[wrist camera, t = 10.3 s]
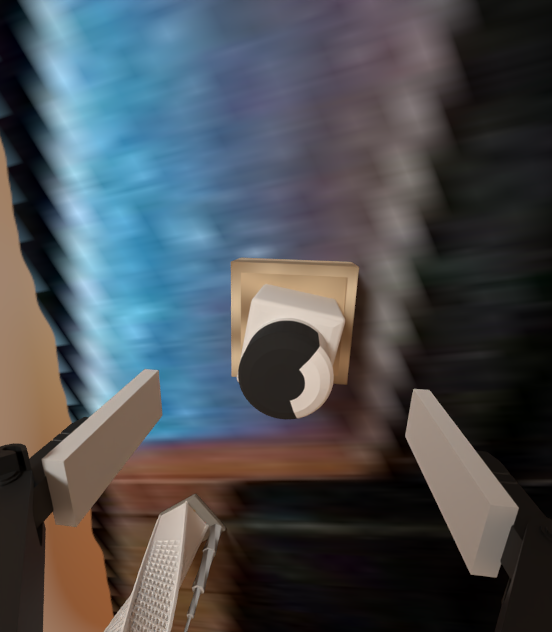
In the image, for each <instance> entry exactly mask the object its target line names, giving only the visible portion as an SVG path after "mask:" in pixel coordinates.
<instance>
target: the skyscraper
mask: <svg viewBox="0 0 552 632" xmlns="http://www.w3.org/2000/svg"><path fill="white" fill-rule="evenodd" d="M225 529H226V527H225V526H224V525H223V524H222V522H221V521H220V520H219V519H218V518H217V517H216V516H215V515H214V513H213V512H212V511H211V510H210V509H209V508H208V507H207V506H206V504H205V503H204V502H203V501H202V500H201V499H200V498H199V497H198V495H197V494H194V495H192V496H190V497H189V498H187V499H185V500H183V501H181V502H180V503H178V504H176V505H174V506H173V507H171V508H169V509H167V510H165V511H164V512H162V513H160V515H159V517H158V519H157V522H156V525H155V527H154V530H153V533H152V536H151V538H150V541H149V544H148V547H147V550H146V552H145V555H144V558H143V561H142V564H141V567H140V570H139V573H138V576H137V579H136V582H135V585H134V589H133V592H132V593H131V595H130V597H129V598H128V600H127V601H126V602H125V603H124V605H123V606H122V607H121V609H120V610H119V611H118V613H117V614H116V615H115V617H114V618H113V620H112V621H111V623H110V624H109V625H108V627H107V628H106V629H105V631H104V632H170V631H171V627H172V622H173V617H174V612H175V607H176V602H177V596H178V590H179V588H180V586H181V584H182V582H183V580H184V578H185V576H186V573H187V571H188V569H189V567H190V565H191V563H192V561H193V559H194V557H195V554H196V552H197V550H198V548H199V546H200V544H201V542H203V541H205V540H207V539H208V540H207V542H206V544H205V546H204V549H203V557H202V562H201V565H200V568H199V571H198V573H197V576H196V578H195V581H194V583H193V586H192V590H193V592H194V595H193V599H192V602H191V604H190V607H189V610H188V612H187V618H188V620H187V624H186V627H185V630H184V632H187V630H188V626H189V623H190V620H191V619H192V618H194V614H195V610H196V606H197V602H198V599H199V596H200V594H202V593H204V591H205V586H206V582H207V577H208V573H209V569H210V566H211V563H212V561H213V558H214V556H216V551H217V546H218V541H219V538H220V535H221V533H222V532H223V531H225Z"/></svg>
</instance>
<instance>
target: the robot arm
mask: <svg viewBox="0 0 552 632" xmlns="http://www.w3.org/2000/svg"><path fill="white" fill-rule="evenodd" d="M161 416H162V406H161V394H160V382H159V370H148V369H144V370H143V371H142V372H141V373H140V374H139V375H138V376H136V377H135V378H134V379H133V380H132V381H131V382H129V383H128V384H127V385H126V386H125V387H124V388H123V389H121V390H120V391H119V392H118V393H117V394H116V395H115V396H113V397H112V398H111V399H110V400H109V401H108V402H107V403H105V404H104V405H103V406H102V407H101V408H100V409H98V410H97V411H96V412H95V413H94V414H93V415H92V416H90V417H83V418H82V419H80V420H78V421H76V422H74V423H72V424H70V425H69V426H68V427H67V428H66V429H64V430H63V431H62V432H61V434H59V435H57V436H56V437H55V438H54V439H53V441H50V442H49V443H48V444H47V445H46V446H44V447H43V448H42V449H40V450H39V451H38V452H37V453H36V454H34V455H33V456H32V457H31V458H30V459H29V457H28V452H27V448H26V446H25V445H23V444H9V445H4V446H1V447H0V632H43V604H44V567H45V565H44V564H45V530H46V529H45V524H44V521H45V519H46V518H47V517H48V516H49V515H50V514H51V513H52V512H53V514H54V518H55V523H56V524H57V525H65V526H73V527H77V525H78V524H79V523H80V521H81V520H82V519H83V518H84V516H85V515H86V513H87V512H88V511H89V510H90V508H91V507H92V506H93V505H94V503H95V502H96V501H97V499H98V498H99V497H100V496H101V494H102V493H103V492H104V490H105V489H106V488H107V486H108V485H109V484H110V483H111V481H112V480H113V479H114V477H115V476H116V475H117V473H118V472H119V471H120V470H121V468H122V467H123V466H124V464H125V463H126V462H127V460H128V459H129V458H130V457H131V455H132V454H133V453H134V451H135V450H136V449H137V448H138V446H139V445H140V444H141V442H142V441H143V440H144V438H145V437H146V436H147V435H148V433H149V432H150V431H151V429H152V428H153V427H154V425H155V424H156V423H157V422H158V420H159V419H160V418H161ZM405 437H406V439H407V441H408V443H409V445H410V447H411V450H412V452H413V454H414V456H415V458H416V460H417V462H418V464H419V466H420V469H421V471H422V473H423V475H424V477H425V479H426V481H427V483H428V485H429V488H430V490H431V492H432V494H433V496H434V498H435V500H436V502H437V504H438V506H439V509H440V511H441V513H442V515H443V517H444V519H445V521H446V523H447V525H448V528H449V530H450V532H451V534H452V536H453V538H454V540H455V542H456V544H457V547H458V549H459V551H460V553H461V555H462V557H463V559H464V561H465V563H466V566H467V568H468V570H469V572H470V574H471V575H480V576H488V577H496V578H497V575H498V571H499V568H500V565H501V563H502V565H503V567H504V569H505V570H506V572H507V574H508V575H509V577H510V578H509V581H508V584H507V587H506V590H505V593H504V596H503V599H502V601H501V603H502V606H501V610H500V614H499V617H498V621H497V625H496V629H495V632H552V519H549V518H547V517H546V516H545V515H544V514H543V513H542V511H541V510H540V509H539V508H538V507H537V505H536V504H535V503H534V502H533V501H532V499H531V498H530V497H529V496H528V495H527V493H526V492H525V491H524V490H523V489H522V487H521V486H520V485H518V484H517V481H516V480H515V479H514V478H513V477H512V475H510V473H509V472H508V470H507V469H506V468H505V467H504V466H503V464H502V463H501V462H500V461H499V460H497V459H496V458H495V457H493V456H492V455H491V454H489V453H488V452H484V451H475V449H474V448H473V447H472V446H471V444H470V443H469V442H468V440H467V439H466V438H465V436H464V435H463V434H462V432H461V431H460V430H459V428H458V427H457V426H456V424H455V423H454V422H453V420H452V419H451V418H450V417H449V415H448V414H447V413H446V411H445V410H444V409H443V407H442V406H441V405H440V403H439V402H438V401H437V399H436V398H435V397H434V395H433V394H432V393H431V392H430V390H421V389H413V394H412V400H411V406H410V411H409V417H408V423H407V429H406V434H405Z"/></svg>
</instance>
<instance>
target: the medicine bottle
mask: <svg viewBox="0 0 552 632" xmlns="http://www.w3.org/2000/svg"><path fill="white" fill-rule="evenodd" d="M344 325H345V318H344V316H343V314H342V312H341V310H340V308H339V306H338V304H337V301H336V300H335V299H332V298H328V297H323V296H319V295H314V294H310V293H305V292H301V291H296V290H292V289H287V288H283V287H278V286H274V285H269V284H265V285H263V286H262V288H261V289H260V290H259V291H258V293H257V294H256V295H255V297H254V298H253V299H252V301H251V306H250V311H249V316H248V321H247V327H246V332H245V337H244V342H243V348H242V353H241V358H240V363H239V369H238V374H237V381H238V382H239V384H240V388H241V390H242V392H243V394H244V396H245V397H246V399H247V400H248V401H249V403H250V404H251V405H252V406H254V407H255V408H256V409H257V410H259V411H260V412H262V413H264V414H266V415H268V416H271V417H274V418H279V419H296V418H301V417H304V416H307V415H309V414H311V413H313V412H314V411H316V410H317V409H318V408H320V407H321V406H322V405H323V404H324V403H325V401H326V400H327V398H328V397H329V395H330V393H331V390H332V387H333V381H334V374H333V364H334V360H335V357H336V353H337V350H338V346H339V343H340V339H341V336H342V332H343V328H344Z"/></svg>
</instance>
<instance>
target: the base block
mask: <svg viewBox="0 0 552 632" xmlns="http://www.w3.org/2000/svg"><path fill="white" fill-rule="evenodd" d="M358 271H359V267H358V266H357V265H355V264H353V263H352V262H337V261H312V260H287V259H261V258H239V259H237V260H234V261H231V346H232V377H237V374H238V369H239V363H240V358H241V353H242V348H243V342H244V337H245V332H246V327H247V321H248V316H249V311H250V306H251V301H252V299H253V298H254V297H255V295H256V294H257V293H258V291H259V290H260V289H261V288H262V286H263V285H265V284H269V285H274V286H278V287H283V288H287V289H292V290H296V291H301V292H305V293H310V294H314V295H319V296H323V297H328V298H332V299H335V300H336V301H337V304H338V306H339V308H340V310H341V312H342V314H343V316H344V318H345V325H344V328H343V332H342V336H341V339H340V343H339V346H338V350H337V353H336V357H335V360H334V364H333V374H334V381H333V384H345V385H347V378H348V368H349V358H350V349H351V339H352V329H353V319H354V310H355V300H356V290H357V280H358Z"/></svg>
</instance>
